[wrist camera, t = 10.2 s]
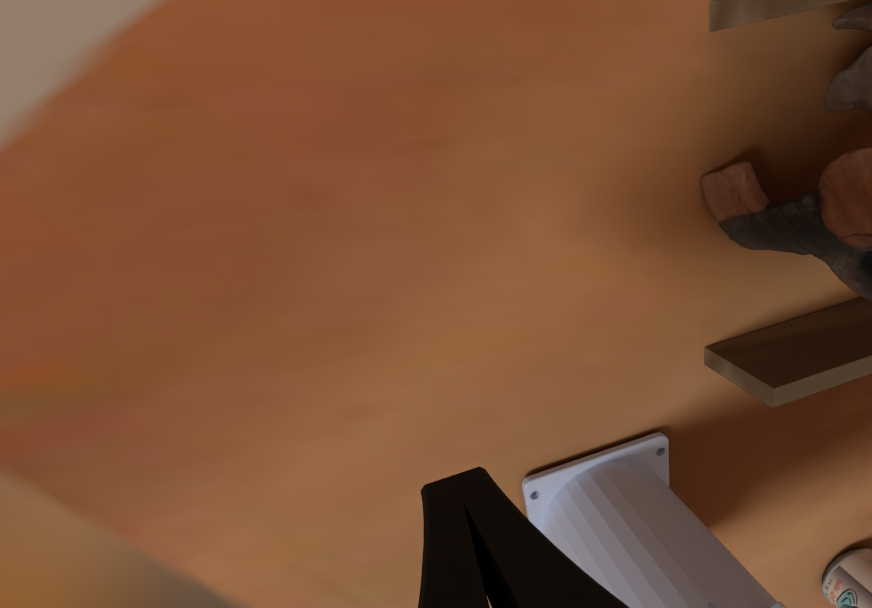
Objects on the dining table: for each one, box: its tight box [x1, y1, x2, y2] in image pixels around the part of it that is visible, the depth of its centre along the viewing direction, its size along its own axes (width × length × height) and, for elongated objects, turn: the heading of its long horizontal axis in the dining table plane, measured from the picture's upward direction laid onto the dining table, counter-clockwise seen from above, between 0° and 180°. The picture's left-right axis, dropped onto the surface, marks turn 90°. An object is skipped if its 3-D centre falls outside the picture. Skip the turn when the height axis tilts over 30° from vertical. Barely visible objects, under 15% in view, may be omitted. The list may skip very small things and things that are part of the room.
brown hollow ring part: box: [700, 2, 872, 301], centre depth 19 cm, size 12×10×8 cm
